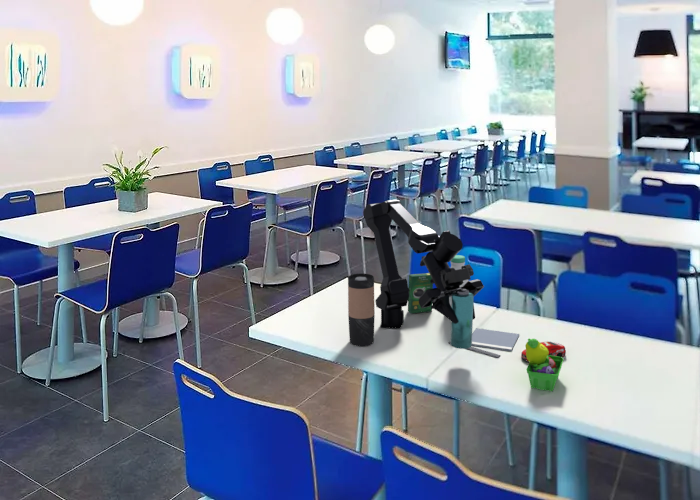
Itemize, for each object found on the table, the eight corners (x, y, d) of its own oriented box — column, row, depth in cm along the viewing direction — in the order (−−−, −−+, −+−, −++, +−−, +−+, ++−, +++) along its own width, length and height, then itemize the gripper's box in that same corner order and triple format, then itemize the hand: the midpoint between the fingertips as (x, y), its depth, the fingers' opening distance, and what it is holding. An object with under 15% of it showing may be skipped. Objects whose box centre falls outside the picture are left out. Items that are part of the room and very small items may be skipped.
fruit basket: (557, 395, 147) (560, 351, 144) (519, 388, 151) (522, 345, 148) (562, 375, 157) (565, 334, 155) (527, 370, 161) (529, 329, 158)
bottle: (450, 348, 163) (451, 293, 159) (450, 339, 168) (452, 287, 164) (471, 349, 162) (473, 294, 158) (471, 341, 167) (473, 287, 163)
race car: (528, 365, 164) (529, 352, 163) (516, 358, 169) (517, 344, 168) (569, 357, 169) (569, 344, 168) (555, 350, 173) (556, 337, 172)
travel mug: (378, 339, 183) (378, 274, 178) (368, 348, 176) (367, 281, 171) (355, 335, 186) (354, 272, 181) (344, 344, 179) (343, 279, 174)
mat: (465, 344, 178) (465, 342, 178) (476, 329, 189) (476, 327, 189) (511, 351, 173) (511, 349, 173) (519, 335, 184) (519, 333, 184)
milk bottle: (468, 320, 197) (470, 260, 193) (443, 318, 199) (445, 259, 194) (468, 312, 205) (470, 254, 200) (445, 310, 206) (446, 253, 202)
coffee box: (429, 308, 209) (430, 271, 205) (433, 311, 206) (433, 274, 203) (407, 311, 206) (407, 274, 203) (410, 314, 204) (411, 276, 200)
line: (448, 343, 179) (448, 342, 179) (451, 341, 180) (451, 340, 180) (497, 357, 168) (497, 356, 168) (500, 356, 170) (500, 355, 169)
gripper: (425, 260, 158) (452, 313, 151) (480, 250, 167) (508, 300, 160) (407, 282, 166) (431, 333, 160) (460, 271, 176) (485, 319, 169)
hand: (465, 321), depth 162 cm, fingers closed on bottle, 6 cm apart
